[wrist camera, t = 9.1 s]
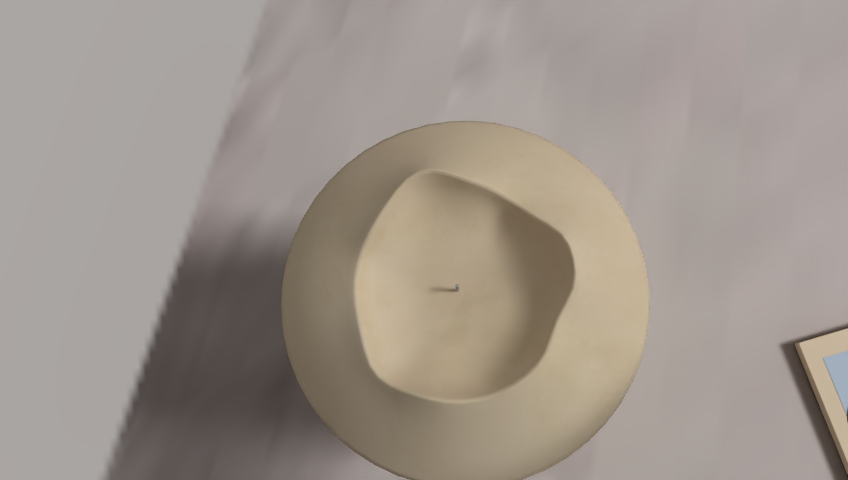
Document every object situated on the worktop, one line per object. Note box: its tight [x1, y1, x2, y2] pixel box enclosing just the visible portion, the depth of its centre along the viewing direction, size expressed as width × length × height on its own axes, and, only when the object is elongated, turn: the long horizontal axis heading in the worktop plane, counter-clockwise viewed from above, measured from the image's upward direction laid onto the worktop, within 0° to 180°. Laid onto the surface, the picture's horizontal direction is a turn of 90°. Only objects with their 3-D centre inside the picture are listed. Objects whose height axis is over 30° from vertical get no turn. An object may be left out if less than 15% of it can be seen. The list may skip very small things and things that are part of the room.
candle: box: [281, 121, 650, 480], centre depth 14 cm, size 6×6×10 cm
